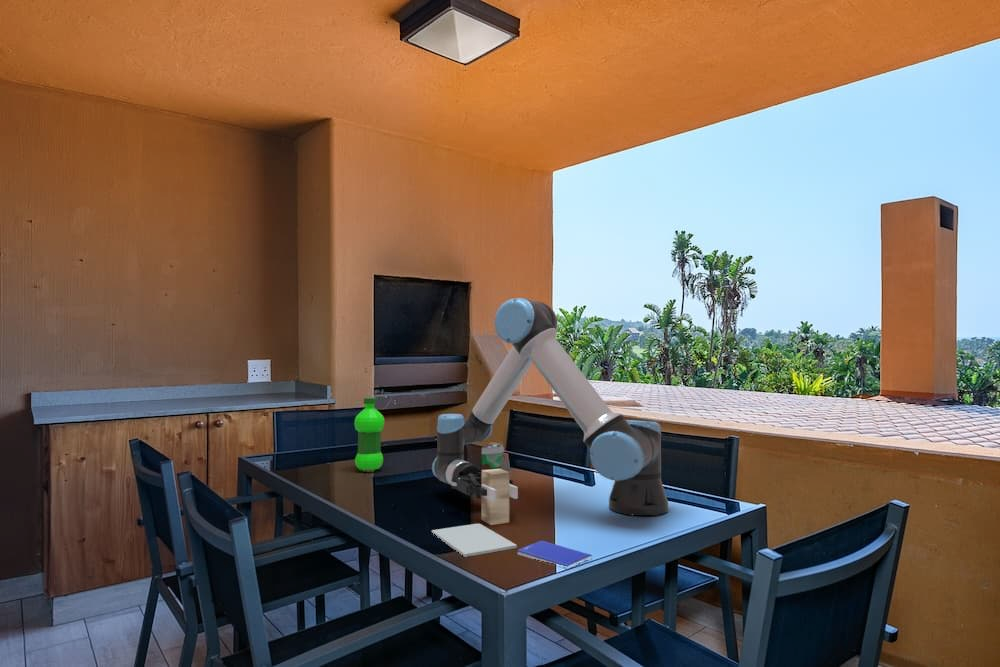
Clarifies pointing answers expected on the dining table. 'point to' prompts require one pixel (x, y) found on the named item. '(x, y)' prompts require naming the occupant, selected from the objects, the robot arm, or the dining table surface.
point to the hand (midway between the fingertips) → (505, 494)
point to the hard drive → (553, 553)
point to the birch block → (500, 508)
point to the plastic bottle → (369, 436)
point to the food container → (492, 456)
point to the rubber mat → (473, 539)
